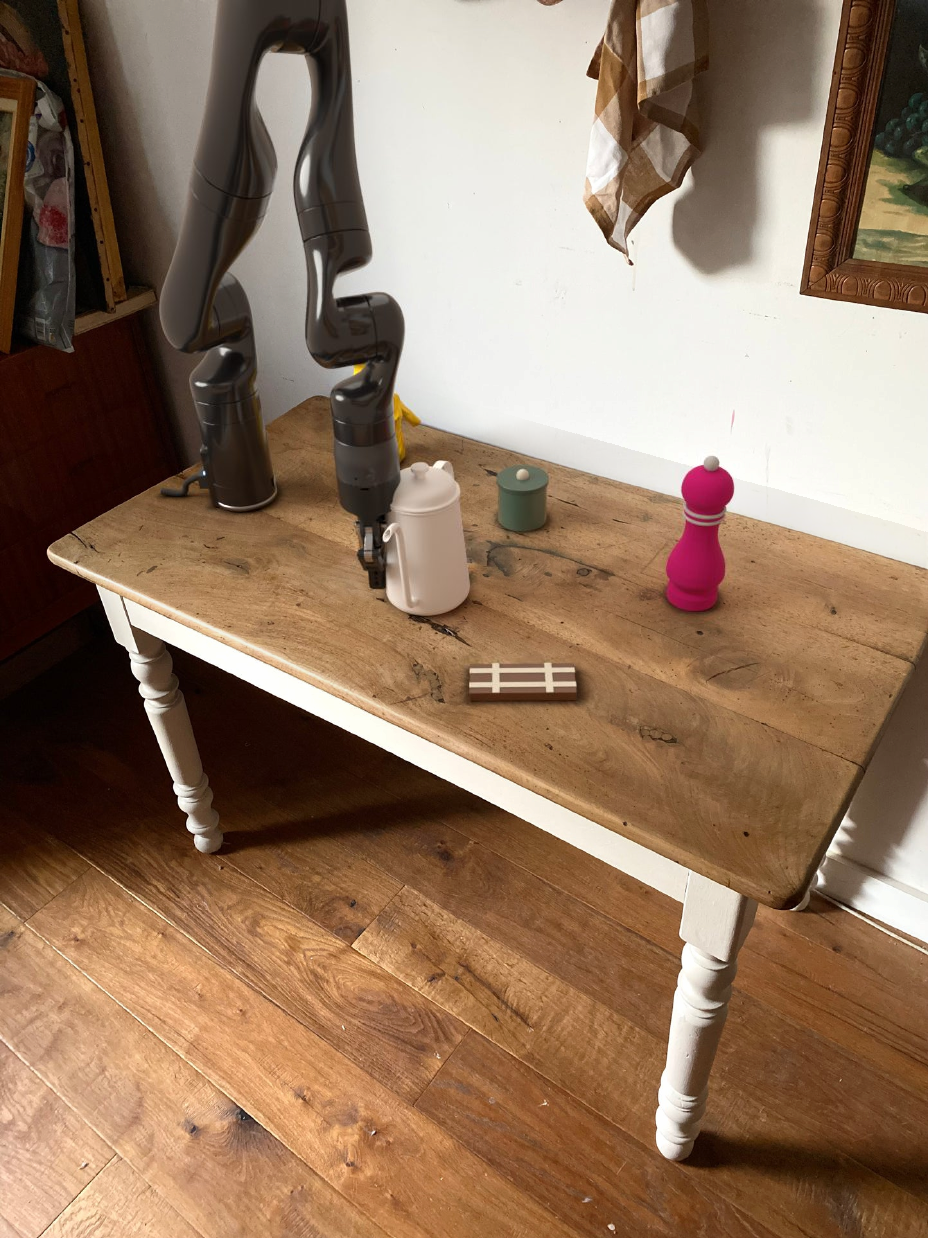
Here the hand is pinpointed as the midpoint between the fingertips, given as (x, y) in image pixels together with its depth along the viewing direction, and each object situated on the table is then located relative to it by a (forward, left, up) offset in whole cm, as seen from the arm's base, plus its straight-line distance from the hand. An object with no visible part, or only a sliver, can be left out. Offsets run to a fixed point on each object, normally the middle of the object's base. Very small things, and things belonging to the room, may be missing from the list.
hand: (378, 585), depth 118 cm
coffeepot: (+6, 0, -2) cm, 6 cm away
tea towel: (+18, -18, -2) cm, 25 cm away
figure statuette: (-3, +37, -2) cm, 37 cm away
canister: (+19, +18, -2) cm, 26 cm away
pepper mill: (+40, -1, -2) cm, 40 cm away
